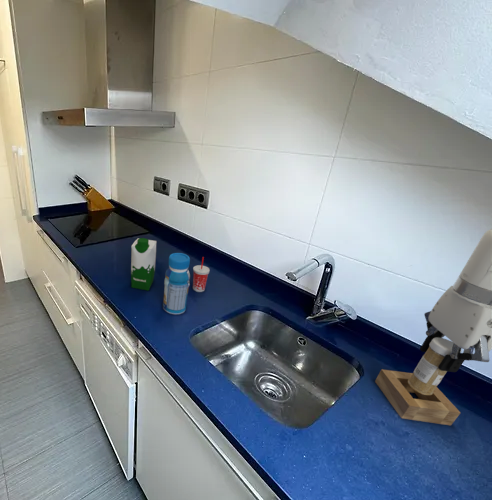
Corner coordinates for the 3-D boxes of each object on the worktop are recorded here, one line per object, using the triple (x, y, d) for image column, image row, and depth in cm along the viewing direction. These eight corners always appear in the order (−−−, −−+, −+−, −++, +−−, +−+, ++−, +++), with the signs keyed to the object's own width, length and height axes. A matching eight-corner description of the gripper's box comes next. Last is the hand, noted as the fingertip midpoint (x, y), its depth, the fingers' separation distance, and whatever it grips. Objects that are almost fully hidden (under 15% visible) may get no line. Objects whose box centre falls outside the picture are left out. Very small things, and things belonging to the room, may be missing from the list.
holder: (417, 387, 73) (425, 374, 71) (450, 426, 64) (460, 412, 62) (374, 381, 74) (381, 369, 72) (401, 418, 65) (409, 405, 63)
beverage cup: (203, 295, 107) (208, 262, 102) (188, 290, 110) (192, 258, 104) (208, 287, 112) (213, 256, 106) (194, 283, 115) (198, 252, 109)
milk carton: (128, 288, 110) (129, 240, 101) (135, 277, 118) (136, 232, 109) (150, 292, 108) (153, 244, 99) (156, 280, 116) (159, 235, 107)
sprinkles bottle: (436, 398, 64) (468, 354, 58) (412, 392, 65) (441, 348, 60) (425, 382, 68) (453, 339, 62) (402, 377, 69) (428, 334, 64)
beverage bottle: (174, 318, 94) (179, 265, 86) (157, 306, 100) (160, 255, 92) (191, 309, 99) (198, 258, 91) (174, 298, 105) (179, 249, 97)
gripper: (554, 321, 47) (492, 396, 55) (464, 272, 63) (426, 336, 70) (503, 316, 48) (449, 391, 56) (427, 268, 63) (393, 332, 71)
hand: (437, 359), depth 63 cm, fingers closed on sprinkles bottle, 4 cm apart
